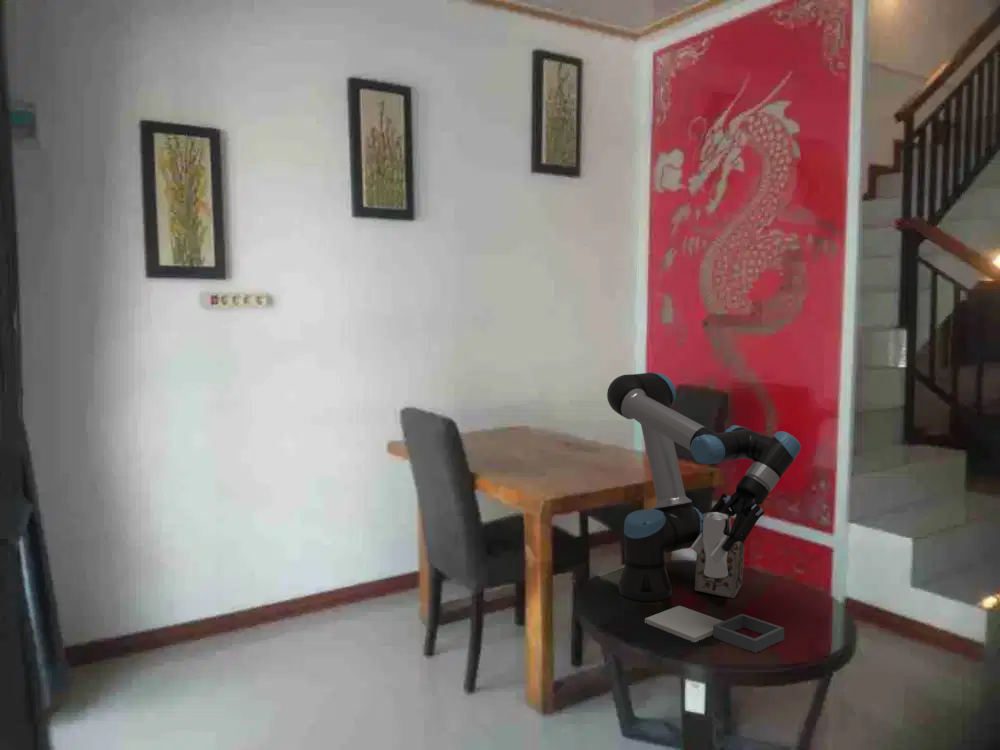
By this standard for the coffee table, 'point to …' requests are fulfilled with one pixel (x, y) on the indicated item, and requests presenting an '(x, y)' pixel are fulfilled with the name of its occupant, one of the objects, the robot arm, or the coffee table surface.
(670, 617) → the board
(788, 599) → the coffee table surface
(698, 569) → the decorative jar
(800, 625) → the coffee table surface
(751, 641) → the holder
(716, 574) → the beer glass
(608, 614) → the coffee table surface
